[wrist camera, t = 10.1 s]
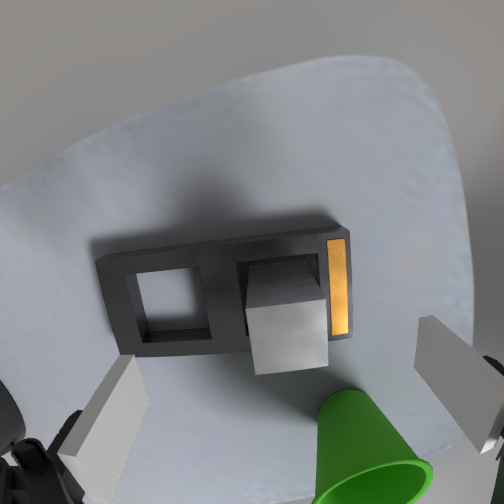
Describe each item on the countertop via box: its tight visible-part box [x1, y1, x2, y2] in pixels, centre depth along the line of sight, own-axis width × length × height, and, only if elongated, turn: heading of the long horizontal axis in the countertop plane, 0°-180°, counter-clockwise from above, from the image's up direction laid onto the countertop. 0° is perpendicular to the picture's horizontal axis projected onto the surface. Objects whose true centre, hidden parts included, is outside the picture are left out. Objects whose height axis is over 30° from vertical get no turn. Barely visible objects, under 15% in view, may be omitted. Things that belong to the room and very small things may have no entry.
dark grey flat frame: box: [95, 226, 353, 357], centre depth 23 cm, size 18×8×2 cm, turn 97°
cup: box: [312, 390, 433, 504], centre depth 21 cm, size 9×9×11 cm
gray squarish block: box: [246, 259, 328, 375], centre depth 20 cm, size 4×4×8 cm
